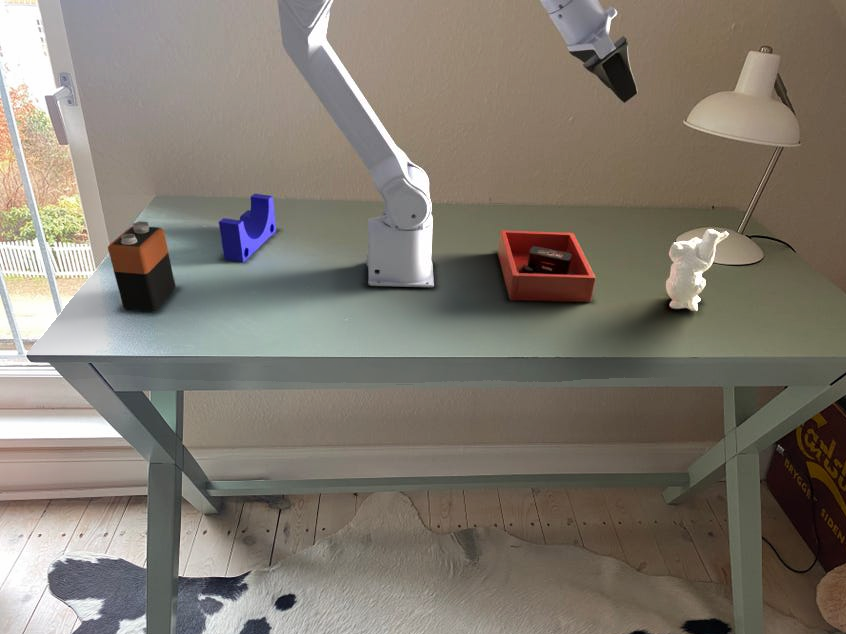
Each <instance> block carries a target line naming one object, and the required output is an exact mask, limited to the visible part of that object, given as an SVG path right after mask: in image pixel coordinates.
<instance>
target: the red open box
mask: <svg viewBox="0 0 846 634" xmlns="http://www.w3.org/2000/svg"><path fill="white" fill-rule="evenodd" d="M533 246H537V247H542V248H547V249H551V250H556V251H561V252H566V253H570V254H572V257H571V263H570V269H569V272H568V275H558V274H542V273H537V272H534V273H533V274H525V273H519V270H520V268H521V269H522V267H523V265H527V266H528V259H529V251H530V250H531V248H532V247H533ZM497 247H498V249H497V255H498V260H499V263H500V266H501V271H502V274H503V279H504V282H505V286H506V290H507V293H508V298H509V301H535V302H536V301H537V302H538V301H539V302H540V301H541V302H542V301H543V302H579V303H580V302H581V303H587V302H588V303H591V302H592V297H593V293H594V287H595V283H596V276H595V274H594V272H593V270H592V268H591V266H590V264H589V262H588V260H587V258H586V256H585V254H584V252H583V250H582V247H581V246H580V244H579V242H578V240H577V238H576V236H575V234H574V232H553V231H552V232H551V231H529V230H528V231H527V230H526V231H525V230H499V239H498V245H497Z"/></svg>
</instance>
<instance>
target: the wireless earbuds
mask: <svg viewBox="0 0 846 634" xmlns="http://www.w3.org/2000/svg"><path fill="white" fill-rule="evenodd" d="M571 257H572V254H570V253H566V252H561V251H556V250H551V249H547V248H542V247H537V246H533V247H532V248H531V250H530V251H529V259H528V266H527V265H523V267H522V269H521V268H520V270H519V273H525V274H533V273H534V272H537V273H542V274H558V275H568V272H569V269H570V263H571Z"/></svg>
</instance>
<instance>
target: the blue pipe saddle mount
mask: <svg viewBox="0 0 846 634" xmlns="http://www.w3.org/2000/svg"><path fill="white" fill-rule="evenodd" d="M276 225H277V224H276V217H275V206H274V197H273V195H269V194H261V193H253V194H252V195H251V196H250V210H249V209H247V210H246V211H245V212H243V213H242V214H241V215H240V217H239V219H232V218H226V217H223V218H222V219H220V220H219V221H218V226H219V234H220V240H221V247H222V252H223V259H224V260H225V261H233V262H239V263H244V262H245V261H247V259H249V258H250V257H251V256H252V255H253V254H254V253H255V252H256V251H257V250H258V249H259V248H260V247H261V246H262V245H263V244H265V243H266V242H267V241H268V239H270V238H271V236H272V235H274V234H275V233H276V232H277V226H276Z"/></svg>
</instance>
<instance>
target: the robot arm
mask: <svg viewBox="0 0 846 634" xmlns="http://www.w3.org/2000/svg"><path fill="white" fill-rule="evenodd" d="M276 1H277V9H278V16H279V26H280V35H281V43H282V47H283V49H284V51H285V52H286V54H287V56H288V57H289V59H290V60H291V62H292V63H293V64H294V65H295V67H296V68H297V70H298V71H299V73H300V74H301V75H302V78H303V79H304V80H305V82H307V85H308V86H309V87H310V88H311V90H312V91H313V93H314V94H315V96H316V97H317V98H318V100H319V102H320V103H321V104H322V105H323V107H324V108H325V110H326V112H327V113H328V114H329V116H330V117H331V118H332V119H333V121H334V123H335V124H336V126H337V127H338V129H340V132H341V133H342V134H343V135H344V137H345V139H346V141H348V143H349V144H350V145H351V147H352V148H353V150H354V151H355V152H356V154H357V155H358V157H359V158H360V160H361V161H362V163H363V164H364V165H365V168H367V170H368V171H369V173H370V176H371V179H372V181H373V184H374V186H375V189H376V191H377V193H378V195H380V197H381V199H382V202H383V204H384V210H383V211H382V215H380V216H375V217H368V221H367V222H368V223H367V254H366V267H367V269H368V271H367V272H368V280H367V281H368V283H367V284H368V285H369V286H370V287H407V288H433V287H434V286H435V283H434V282H435V279H434V268H433V267H434V265H433V261H432V245H433V220H434V218H433V215H432V209H433V208H432V201H431V198H430V197H431V196H430V180H429V179H430V178H429V177H428V175H427V173H426V171H425V170H424V169H423V168H421V167H420V166H418V165H416V164H415V163H414V162H412V161H411V160H410V158H409V157H408V156H407V154H406V153H405V152H404V151H403V150H402V149H401V148H400V147H398V145H396V143H395V141H394V140H393V138H392V137H391V135H390V134H389V133H388V131H387V129H386V128H385V126H384V125H383V124H382V122H381V120H380V119H379V117H378V115H376V113H375V111H374V110H373V108H372V107H371V105H370V104H369V101H367V99H366V98H365V96H364V94H363V93H362V91H361V90H360V89H359V87H358V85H357V84H356V83H355V81H354V79H353V78H352V77H351V75H350V73H349V72H348V70H347V68H345V66H344V64H343V63H342V62H341V60H340V58H339V57H338V55H337V54H336V52H335V51H334V49H333V48H332V46H331V45H330V43H329V41H328V40H327V32H328V31H327V30H328V25H329V20H330V10H331V7H332V6H333V2H334V1H335V0H276ZM539 1H540V3H541V4H542V6H543V8H544V9H545V11H546V12H547V14H548V16H549V17H550V19H551V21H552V23H553V24H554V25H555V27H556V29H557V30H558V32H559V34H560V36H561V37H562V39H563V40H564V42H565V46H566V48H567V49H568V51H569V52H568V53H569V54H570V55H571V56H573V57H574V58H576V59H578V60H580V62H583V63H582V66H583V67H584V69H585V70H586V71H588V72H589V73H592V74H593V75H595V76H596V77H597V78H598V79H599V81H600V82H601V83H602V84H603V85H604V86H606V87H607V88H608V89H610V90H611V91H612V92H613V94H614V95H615V96H616V97H617V99H619V100H620V101H621V102H623V103H624V104H625V103H627V102H628V101H630V100H631V99H632V98H633V97H635V96H636V95H637V94H638V93H639V92H638V88H637V83H636V80H635V77H634V75H633V71H632V68H631V64H630V59H629V43H628V42H629V41H628V39H627V37H625V36H621V37H620V38H618V39H617V40H616V41H615V42H614V43H613V42H612V39H611V38H610V36H609V34H610V30H611V29H610V27H611V21H612V19H613V18H614V17H616V16H617V14H618V11H617V9H616V8H615V7H614V6H610V7H609V8H608V9H606V10H605V9H604V7H603V6H602V5H601V3H600V1H599V0H539Z"/></svg>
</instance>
